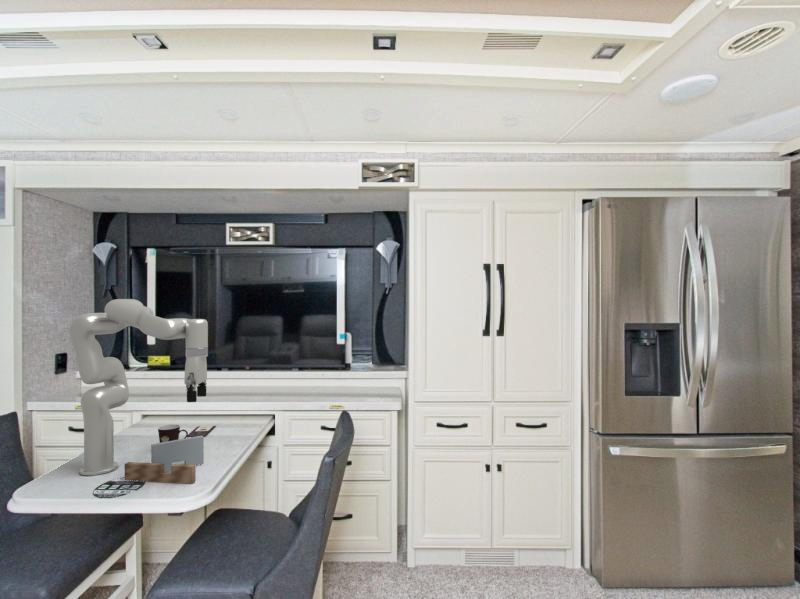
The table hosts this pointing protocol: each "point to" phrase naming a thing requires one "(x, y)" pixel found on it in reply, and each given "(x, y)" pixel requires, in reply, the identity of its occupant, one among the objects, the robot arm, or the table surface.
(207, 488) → the table surface
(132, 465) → the walnut board
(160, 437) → the coffee mug
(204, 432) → the chocolate bar
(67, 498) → the table surface
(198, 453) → the grey panel
